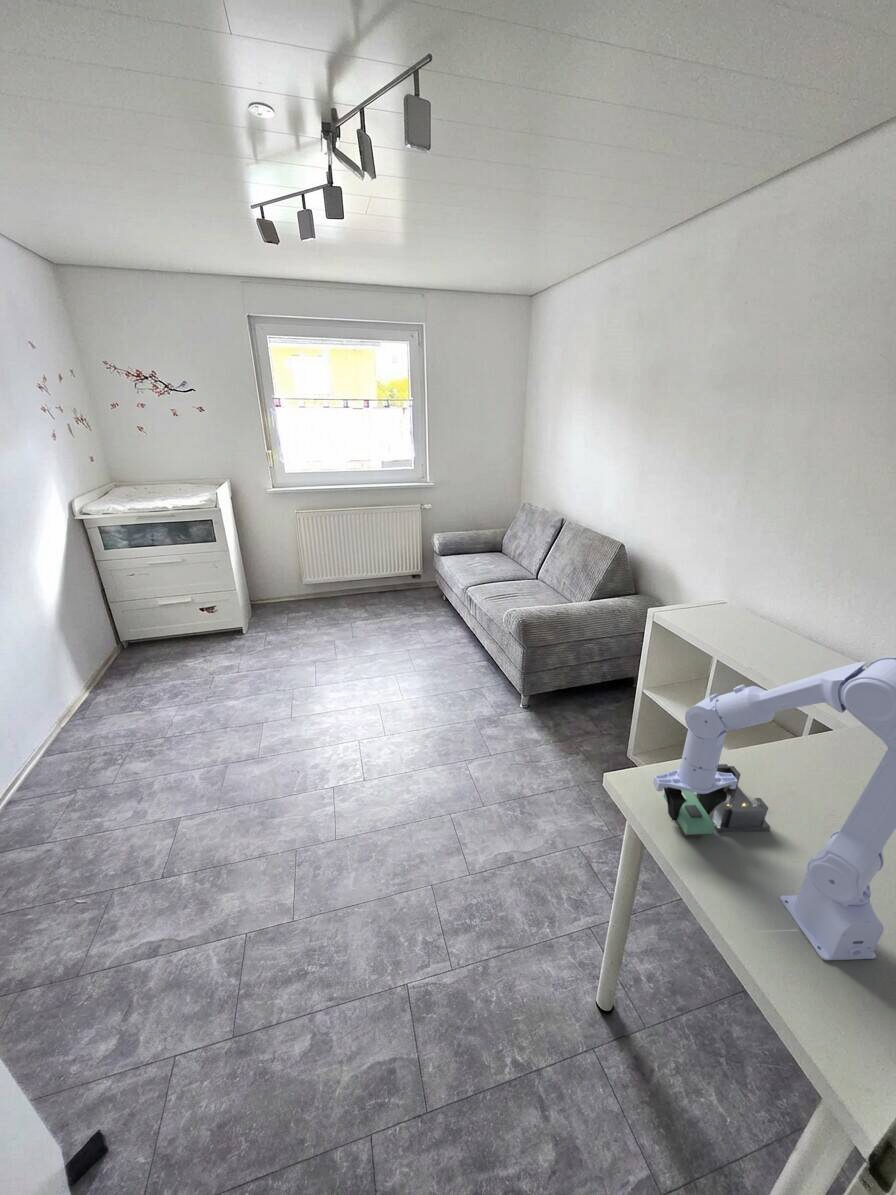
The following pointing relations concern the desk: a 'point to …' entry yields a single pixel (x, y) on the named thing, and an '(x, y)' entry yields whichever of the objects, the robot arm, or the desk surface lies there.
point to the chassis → (738, 809)
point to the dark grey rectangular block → (688, 834)
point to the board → (694, 816)
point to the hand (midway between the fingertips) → (686, 815)
